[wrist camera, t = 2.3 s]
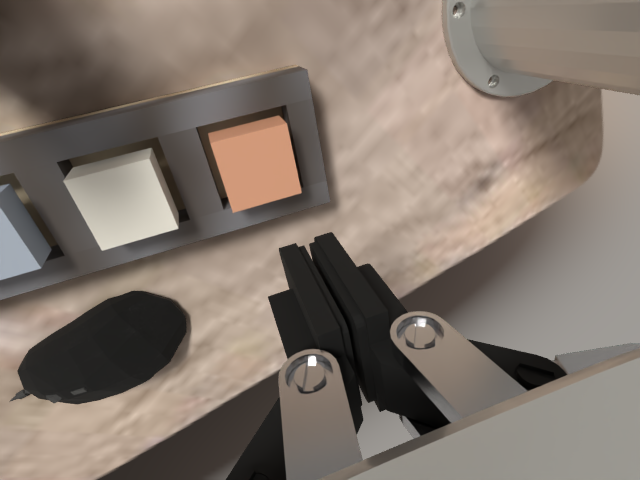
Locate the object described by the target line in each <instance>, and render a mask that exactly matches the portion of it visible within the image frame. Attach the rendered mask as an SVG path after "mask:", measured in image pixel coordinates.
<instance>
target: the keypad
mask: <svg viewBox="0 0 640 480" xmlns="http://www.w3.org/2000/svg"><path fill="white" fill-rule="evenodd" d="M278 115H279V116H280V117H281V118H282V119H283V120H284V121H285V122H286V123H287V126H288V131H289V136H290V140H291V145H292V150H293V154H294V159H295V164H296V168H297V173H298V178H299V182H300V187H301V192H302V193H300V194H296V195H293V196H290V197H286V198H283V199H279V200H276V201H272V202H269V203H265V204H262V205H258V206H255V207H252V208H248V209H245V210H241V211H238V212H234V213H233V211H232V208H231V205H230V202H229V199H228V196H227V193H226V190H225V187H224V184H223V181H222V178H221V175H220V172H219V168H218V165H217V162H216V159H215V156H214V153H213V150H212V147H211V144H210V140H209V136H208V133H211V132H215V131H219V130H223V129H227V128H231V127H235V126H239V125H243V124H247V123H251V122H255V121H259V120H263V119H267V118H271V117H274V116H278ZM148 148H152V149H153V152H154V154H155V157H156V159H157V162H158V164H159V166H160V169H161V171H162V174H163V176H164V179H165V181H166V184H167V186H168V188H169V191H170V193H171V196H172V198H173V201H174V203H175V206H176V208H177V211H178V213H179V229H176V230H172V231H169V232H165V233H162V234H158V235H155V236H151V237H148V238H145V239H141V240H138V241H134V242H131V243H127V244H124V245H120V246H117V247H113V248H110V249H107V250H103V251H102V250H101V248H100V246H99V245H98V243H97V241H96V239H95V237H94V236H93V234H92V232H91V230H90V228H89V227H88V225H87V223H86V221H85V219H84V218H83V216H82V214H81V212H80V210H79V209H78V207H77V205H76V203H75V201H74V200H73V198H72V196H71V194H70V192H69V191H68V189H67V187H66V185H65V183H64V182H63V180H64V179H65V178H66V176H67V175H68V173H69V172H70V171H71V169H72V168H73V167H77V166H81V165H85V164H89V163H93V162H97V161H101V160H105V159H109V158H113V157H116V156H120V155H124V154H128V153H132V152H136V151H140V150H144V149H148ZM6 184H11V186H12V187H13V189H14V191H15V192H16V194H17V195H18V197H19V198H20V200H21V202H22V203H23V205H24V206H25V208H26V209H27V211H28V213H29V214H30V216H31V217H32V219H33V221H34V222H35V224H36V225H37V227H38V228H39V230H40V232H41V233H42V235H43V236H44V238H45V239H46V241H47V243H48V244H49V246H50V247H51V249H52V250H51V252H50V253H49V255H48V257H47V259H46V261H45V263H44V264H43V266H42V268H41V269H37V270H34V271H31V272H27V273H24V274H20V275H17V276H13V277H10V278H6V279H3V280H0V300H2V299H6V298H9V297H12V296H16V295H19V294H23V293H26V292H29V291H33V290H36V289H39V288H43V287H46V286H49V285H53V284H56V283H60V282H63V281H66V280H70V279H73V278H76V277H80V276H83V275H86V274H90V273H93V272H97V271H100V270H103V269H107V268H110V267H113V266H117V265H120V264H123V263H127V262H130V261H134V260H137V259H140V258H144V257H147V256H150V255H154V254H157V253H160V252H164V251H167V250H171V249H174V248H177V247H181V246H184V245H187V244H191V243H194V242H197V241H201V240H204V239H208V238H211V237H214V236H218V235H221V234H224V233H228V232H231V231H234V230H238V229H241V228H245V227H248V226H251V225H255V224H258V223H261V222H265V221H268V220H271V219H275V218H278V217H282V216H285V215H288V214H292V213H295V212H298V211H302V210H305V209H308V208H312V207H315V206H319V205H322V204H325V203H329V202H330V197H329V192H328V186H327V180H326V175H325V169H324V163H323V157H322V152H321V146H320V140H319V135H318V129H317V123H316V118H315V112H314V106H313V100H312V95H311V89H310V83H309V78H308V72H307V69H304V68H302V67H299V66H297V65H293V66H289V67H284V68H280V69H276V70H271V71H267V72H263V73H258V74H254V75H250V76H246V77H241V78H237V79H233V80H228V81H224V82H220V83H216V84H211V85H207V86H203V87H198V88H194V89H190V90H186V91H181V92H177V93H173V94H168V95H164V96H160V97H155V98H151V99H147V100H143V101H138V102H134V103H130V104H125V105H121V106H117V107H113V108H108V109H104V110H100V111H95V112H91V113H87V114H83V115H78V116H74V117H70V118H65V119H61V120H57V121H52V122H48V123H44V124H40V125H35V126H31V127H27V128H22V129H18V130H14V131H10V132H5V133H1V134H0V186H2V185H6Z"/></svg>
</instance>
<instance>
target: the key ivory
mask: <svg viewBox="0 0 640 480" xmlns="http://www.w3.org/2000/svg"><path fill="white" fill-rule="evenodd" d="M63 182H64V183H65V185H66V187H67V189H68V191H69V192H70V194H71V196H72V198H73V200H74V201H75V203H76V205H77V207H78V209H79V210H80V212H81V214H82V216H83V218H84V219H85V221H86V223H87V225H88V227H89V228H90V230H91V232H92V234H93V236H94V237H95V239H96V241H97V243H98V245H99V246H100V248H101V250H102V251H103V250H107V249H110V248H113V247H117V246H120V245H124V244H127V243H131V242H134V241H138V240H141V239H145V238H148V237H151V236H155V235H158V234H162V233H165V232H169V231H172V230H176V229H179V213H178V211H177V208H176V206H175V203H174V201H173V198H172V196H171V193H170V191H169V188H168V186H167V184H166V181H165V179H164V176H163V174H162V171H161V169H160V166H159V164H158V162H157V159H156V157H155V154H154V152H153V149H152V148H148V149H144V150H140V151H136V152H132V153H128V154H124V155H120V156H116V157H113V158H109V159H105V160H101V161H97V162H93V163H89V164H85V165H81V166H77V167H73V168H72V169H71V171H70V172H69V173H68V175H67V176H66V178H65V179H64V180H63Z"/></svg>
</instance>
